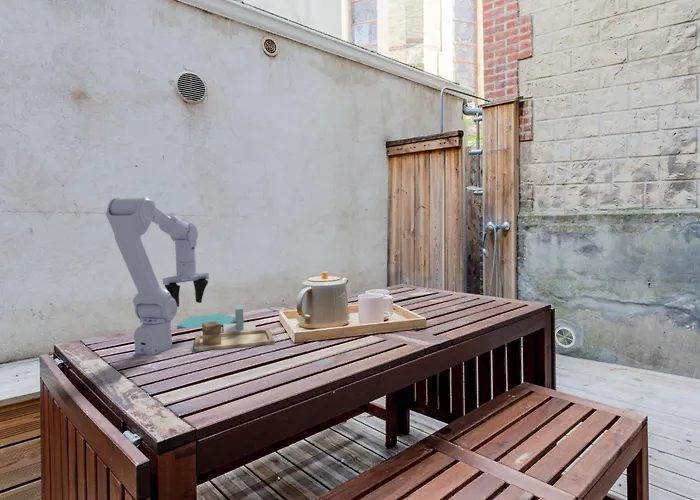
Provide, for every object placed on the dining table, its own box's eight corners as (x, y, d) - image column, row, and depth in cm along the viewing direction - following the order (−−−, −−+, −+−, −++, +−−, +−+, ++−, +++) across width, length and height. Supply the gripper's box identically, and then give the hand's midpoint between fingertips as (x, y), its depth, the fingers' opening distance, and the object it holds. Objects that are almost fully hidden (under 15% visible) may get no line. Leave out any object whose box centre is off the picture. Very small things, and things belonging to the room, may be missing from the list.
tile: (223, 338, 137) (223, 332, 137) (223, 330, 146) (223, 324, 146) (256, 335, 140) (256, 329, 139) (254, 327, 149) (254, 321, 149)
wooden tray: (194, 355, 121) (193, 348, 120) (196, 341, 134) (196, 334, 134) (274, 347, 127) (274, 340, 127) (269, 334, 140) (269, 328, 140)
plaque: (220, 336, 144) (241, 319, 163) (220, 330, 143) (241, 313, 163) (169, 335, 145) (196, 317, 165) (169, 329, 145) (196, 312, 165)
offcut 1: (206, 335, 125) (206, 326, 125) (202, 331, 129) (201, 323, 129) (221, 332, 128) (221, 324, 127) (216, 329, 131) (216, 321, 131)
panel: (236, 329, 139) (235, 309, 139) (235, 324, 146) (235, 305, 145) (243, 329, 140) (243, 309, 139) (242, 323, 146) (241, 304, 146)
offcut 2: (203, 345, 125) (202, 335, 125) (203, 340, 130) (203, 331, 130) (221, 344, 127) (220, 333, 127) (221, 339, 132) (220, 329, 131)
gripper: (170, 264, 130) (172, 310, 131) (213, 260, 141) (215, 302, 142) (158, 263, 134) (160, 307, 135) (201, 258, 145) (203, 299, 146)
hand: (187, 304), depth 139 cm, fingers open, 7 cm apart
